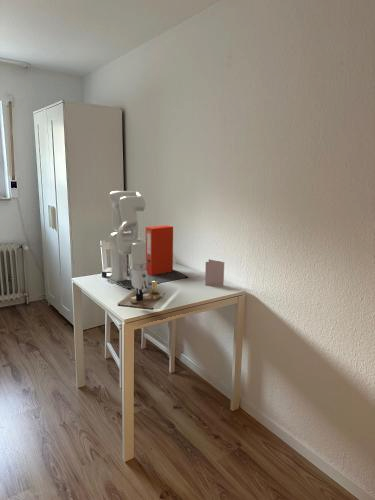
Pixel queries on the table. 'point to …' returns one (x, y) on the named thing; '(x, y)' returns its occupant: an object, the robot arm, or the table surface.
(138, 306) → the base plate
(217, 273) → the greeting card
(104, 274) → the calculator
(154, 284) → the pin
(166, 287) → the table surface
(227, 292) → the table surface
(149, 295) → the link
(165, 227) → the file binder
